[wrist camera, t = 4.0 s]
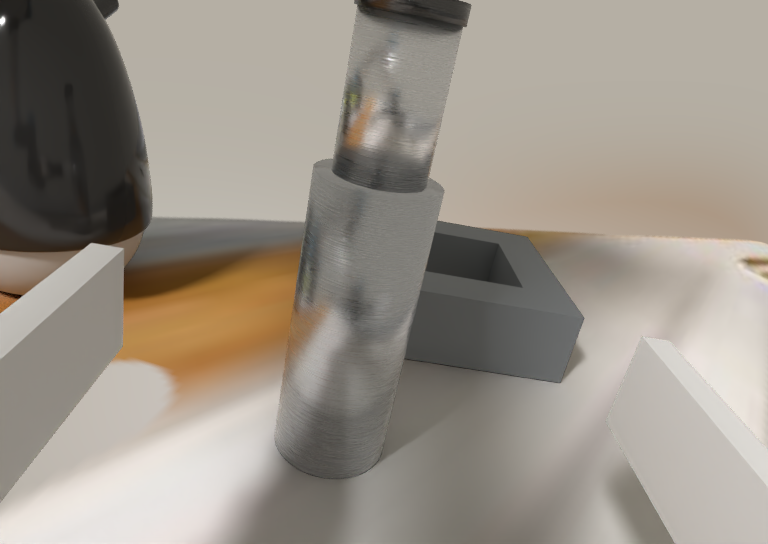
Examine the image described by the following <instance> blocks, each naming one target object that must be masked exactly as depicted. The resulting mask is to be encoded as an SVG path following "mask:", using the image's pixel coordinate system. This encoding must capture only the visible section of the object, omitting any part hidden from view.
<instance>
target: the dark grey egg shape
mask: <svg viewBox="0 0 768 544" xmlns="http://www.w3.org/2000/svg"><path fill="white" fill-rule="evenodd" d="M118 7H119V3H118V0H0V291H3V292H7V293H12V294H18V295H25V294H26V293H27V292H29V291H30V290H31V289H32V288H34V287H35V286H36V285H38V284H39V283H40V282H41V281H43V280H44V279H45V278H47V277H48V276H49V275H51V274H52V273H53V272H54V271H56V270H57V269H58V268H60V267H61V266H62V265H63V264H65V263H66V262H67V261H69V260H70V259H71V258H72V257H74V256H75V255H76V254H78V253H79V252H80V251H81V250H83V249H84V248H85V247H87V246H88V245H89V244H90V243H95V244H101V245H107V246H113V247H119V248H124V267H125V266H126V265H127V264H128V262H129V261H130V260H131V258H132V257H133V255H134V254H135V252H136V250H137V248H138V246H139V244H140V241H141V239H142V236H143V232H144V230H145V229H146V228H147V227H148V225H149V224H150V222H151V219H152V188H151V179H150V171H149V164H148V157H147V151H146V144H145V139H144V134H143V129H142V125H141V121H140V116H139V112H138V109H137V104H136V101H135V97H134V94H133V90H132V87H131V84H130V81H129V77H128V74H127V71H126V68H125V65H124V62H123V59H122V57H121V54H120V51H119V49H118V46H117V44H116V41H115V39H114V37H113V34H112V32H111V30H110V29H109V26H108V24H107V22H106V21H105V20H106V19H107V18H108V17H110V16H111V15H112V14H113V13H115V12H116V11H117V10H118Z"/></svg>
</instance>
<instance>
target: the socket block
mask: <svg viewBox="0 0 768 544" xmlns="http://www.w3.org/2000/svg"><path fill="white" fill-rule="evenodd" d="M583 321H584V317H583V315H582V314H581V313H580V311H579V310H578V308H577V307H576V305H575V304H574V303H573V301H572V300H571V298H570V297H569V296H568V294H567V293H566V291H565V290H564V288H563V287H562V286H561V284H560V283H559V281H558V280H557V278H556V277H555V276H554V274H553V273H552V271H551V270H550V269H549V267H548V266H547V264H546V263H545V261H544V260H543V259H542V257H541V256H540V254H539V253H538V251H537V250H536V249H535V247H534V246H533V244H532V243H531V242H530V240H529V239H528V237H525V236H520V235H514V234H509V233H503V232H498V231H492V230H486V229H481V228H475V227H470V226H464V225H459V224H453V223H447V222H442V221H437V224H436V228H435V232H434V236H433V240H432V245H431V249H430V253H429V257H428V261H427V265H426V270H425V274H424V278H423V282H422V286H421V290H420V295H419V299H418V303H417V307H416V311H415V315H414V320H413V324H412V328H411V332H410V336H409V340H408V345H407V349H406V353H405V357H404V358H405V359H411V360H417V361H424V362H430V363H436V364H443V365H449V366H456V367H462V368H468V369H475V370H481V371H487V372H494V373H500V374H507V375H513V376H519V377H526V378H532V379H538V380H545V381H551V382H558V383H560V382H561V379H562V377H563V374H564V371H565V369H566V366H567V363H568V361H569V358H570V355H571V353H572V350H573V347H574V345H575V342H576V339H577V337H578V334H579V331H580V329H581V326H582V323H583Z"/></svg>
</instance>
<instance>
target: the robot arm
mask: <svg viewBox="0 0 768 544" xmlns="http://www.w3.org/2000/svg"><path fill="white" fill-rule="evenodd" d="M123 292H124V248H119V247H113V246H107V245H101V244H95V243H90V244H89V245H88V246H87V247H85V248H84V249H83V250H81V251H80V252H79V253H78V254H76V255H75V256H74V257H72V258H71V259H70V260H69V261H67V262H66V263H65V264H63V265H62V266H61V267H60V268H58V269H57V270H56V271H54V272H53V273H52V274H51V275H49V276H48V277H47V278H45V279H44V280H43V281H41V282H40V283H39V284H38V285H36V286H35V287H34V288H32V289H31V290H30V291H29V292H27V293H26V294H25V295H23V296H22V297H21V298H20V299H18V300H17V301H16V302H14V303H13V304H12V305H11V306H9V307H8V308H7V309H5V310H4V311H3V312H2V313H0V502H1V501H2V500H3V499H4V497H5V496H6V495H7V493H8V492H9V491H10V490H11V488H12V487H13V486H14V485H15V483H16V482H17V481H18V479H19V478H20V477H21V476H22V474H23V473H24V472H25V471H26V469H27V468H28V467H29V465H30V464H31V463H32V461H33V460H34V459H35V458H36V456H37V455H38V454H39V453H40V451H41V450H42V449H43V448H44V446H45V445H46V444H47V442H48V441H49V440H50V438H51V437H52V436H53V434H54V433H55V432H56V431H57V430H58V428H59V427H60V426H61V424H62V423H63V422H64V421H65V419H66V418H67V417H68V415H69V414H70V413H71V412H72V410H73V409H74V408H75V407H76V405H77V404H78V403H79V402H80V400H81V399H82V398H83V396H84V395H85V394H86V393H87V391H88V390H89V389H90V387H91V386H92V385H93V384H94V382H95V381H96V379H97V378H98V377H99V376H100V375H101V373H102V372H103V371H104V370H105V368H106V367H107V366H108V365H109V363H110V362H111V361H112V359H113V358H114V357H115V356H116V354H117V353H118V352H119V350H120V349H121V348H122V347H123ZM606 423H607V425H608V427H609V428H610V430H611V432H612V434H613V435H614V437H615V439H616V441H617V442H618V444H619V446H620V448H621V450H622V451H623V453H624V455H625V457H626V458H627V460H628V462H629V464H630V465H631V467H632V469H633V471H634V472H635V474H636V476H637V478H638V479H639V481H640V483H641V485H642V487H643V488H644V490H645V492H646V494H647V495H648V497H649V499H650V501H651V502H652V504H653V506H654V508H655V509H656V511H657V513H658V515H659V516H660V518H661V520H662V522H663V524H664V525H665V527H666V529H667V531H668V532H669V534H670V536H671V538H672V539H673V541H674V543H675V544H768V449H767V447H766V446H765V445H764V444H763V443H762V442H761V441H760V440H759V439H758V438H757V436H756V435H755V434H754V433H753V432H752V431H751V430H750V429H749V428H748V427H747V425H746V424H745V423H744V422H743V421H742V420H741V419H740V418H739V417H738V416H737V414H736V413H735V412H734V411H733V410H732V409H731V408H730V407H729V406H728V405H727V403H726V402H725V401H724V400H723V399H722V398H721V397H720V396H719V395H718V394H717V392H716V391H715V390H714V389H713V388H712V387H711V386H710V385H709V384H708V383H707V381H706V380H705V379H704V378H703V377H702V376H701V375H700V374H699V373H698V372H697V371H696V369H695V368H694V367H693V366H692V365H691V364H690V363H689V362H688V361H687V360H686V358H685V357H684V356H683V355H682V354H681V353H680V352H679V351H678V350H677V349H676V347H675V346H674V345H673V344H672V343H671V342H670V341H666V340H661V339H655V338H649V337H643V336H642V337H641V340H640V342H639V344H638V347H637V349H636V351H635V354H634V356H633V358H632V361H631V363H630V365H629V368H628V370H627V372H626V375H625V377H624V380H623V382H622V384H621V387H620V389H619V391H618V394H617V396H616V398H615V401H614V403H613V405H612V408H611V410H610V412H609V415H608V417H607V419H606Z"/></svg>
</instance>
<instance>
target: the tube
mask: <svg viewBox="0 0 768 544" xmlns="http://www.w3.org/2000/svg"><path fill="white" fill-rule="evenodd" d="M354 3H355V4H357V5H358V6H357V11H356V18H355V24H354V31H353V37H352V43H351V49H350V55H349V62H348V69H347V74H346V81H345V87H344V94H343V100H342V106H341V113H340V120H339V125H338V132H337V138H336V144H335V151H334V157H333V159H325V160H321V161H318V162H316V163H315V164H314V167H313V173H312V180H311V187H310V194H309V200H308V207H307V214H306V221H305V228H304V235H303V242H302V249H301V256H300V263H299V270H298V276H297V283H296V290H295V297H294V304H293V311H292V318H291V325H290V332H289V339H288V346H287V353H286V359H285V366H284V373H283V380H282V387H281V394H280V401H279V408H278V415H277V422H276V429H275V443H276V446H277V449H278V451H279V452H280V454H281V455H282V456H283V457H284V459H285V460H286V461H288V462H289V463H290V464H291V465H293V466H294V467H296V468H297V469H299V470H301V471H303V472H305V473H308V474H311V475H314V476H318V477H323V478H348V477H352V476H356V475H359V474H362V473H364V472H366V471H367V470H369V469H370V468H372V467H373V466H374V465H375V464H376V462H377V461H378V460H379V458H380V456H381V452H382V449H383V444H384V440H385V436H386V432H387V428H388V424H389V419H390V415H391V411H392V407H393V403H394V399H395V395H396V390H397V386H398V382H399V378H400V374H401V370H402V365H403V361H404V357H405V353H406V349H407V345H408V340H409V336H410V332H411V328H412V324H413V320H414V315H415V311H416V307H417V303H418V299H419V295H420V290H421V286H422V282H423V278H424V274H425V270H426V265H427V261H428V257H429V253H430V249H431V245H432V240H433V236H434V232H435V228H436V224H437V219H438V215H439V211H440V207H441V203H442V199H443V194H444V189H443V187H442V186H441V185H440V184H439V183H437V182H436V181H434V180H432V179H431V178H429V174H430V170H431V166H432V161H433V157H434V153H435V148H436V144H437V139H438V135H439V131H440V126H441V122H442V117H443V113H444V108H445V104H446V100H447V95H448V90H449V86H450V82H451V78H452V73H453V69H454V64H455V60H456V55H457V51H458V46H459V42H460V38H461V33H462V29H463V27H466V26H467V22H468V18H469V14H470V9H471V4H468V3H466V2H462V1H459V0H355V2H354Z"/></svg>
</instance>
